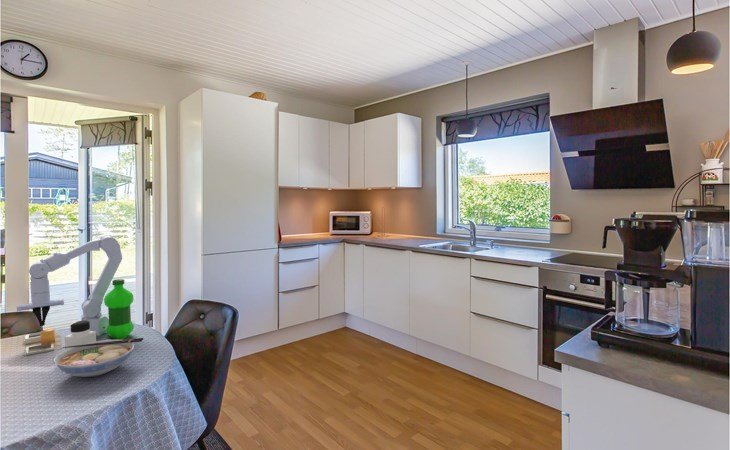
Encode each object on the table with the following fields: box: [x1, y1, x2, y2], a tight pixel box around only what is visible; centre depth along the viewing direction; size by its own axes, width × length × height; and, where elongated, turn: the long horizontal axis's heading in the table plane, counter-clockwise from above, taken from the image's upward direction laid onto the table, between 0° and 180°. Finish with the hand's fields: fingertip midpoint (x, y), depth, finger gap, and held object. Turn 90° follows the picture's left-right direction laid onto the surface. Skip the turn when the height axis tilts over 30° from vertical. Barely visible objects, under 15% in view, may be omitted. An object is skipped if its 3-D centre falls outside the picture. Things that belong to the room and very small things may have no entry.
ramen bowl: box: [53, 337, 144, 378], centre depth 130 cm, size 25×23×8 cm
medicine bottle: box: [64, 319, 97, 351], centre depth 148 cm, size 7×7×12 cm
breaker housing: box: [24, 333, 41, 344], centre depth 156 cm, size 6×6×2 cm
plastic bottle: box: [103, 278, 134, 340], centre depth 163 cm, size 10×10×25 cm
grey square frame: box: [24, 342, 54, 357], centre depth 146 cm, size 8×8×1 cm
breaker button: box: [29, 331, 41, 338], centre depth 156 cm, size 3×3×2 cm
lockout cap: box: [39, 328, 56, 344], centre depth 153 cm, size 4×4×5 cm
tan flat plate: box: [23, 332, 63, 357], centre depth 152 cm, size 23×11×2 cm, turn 40°
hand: (42, 325), depth 154 cm, fingers closed
